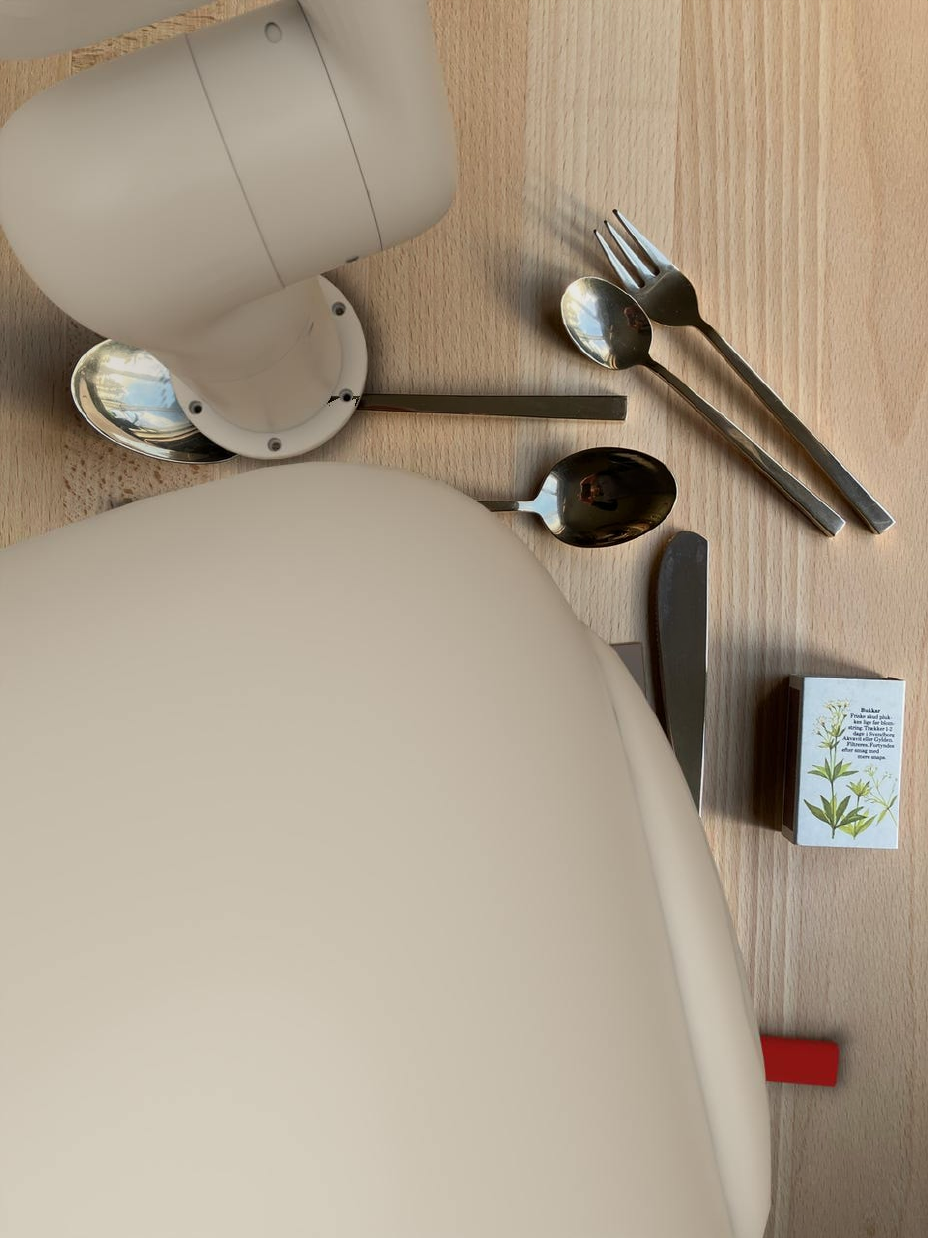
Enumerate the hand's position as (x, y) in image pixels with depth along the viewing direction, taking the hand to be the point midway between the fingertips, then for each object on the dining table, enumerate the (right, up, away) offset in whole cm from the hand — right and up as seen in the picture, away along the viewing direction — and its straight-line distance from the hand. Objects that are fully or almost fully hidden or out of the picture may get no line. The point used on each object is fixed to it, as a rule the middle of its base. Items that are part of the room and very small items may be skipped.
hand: (411, 958), depth 34 cm
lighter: (+22, -18, +34) cm, 44 cm away
